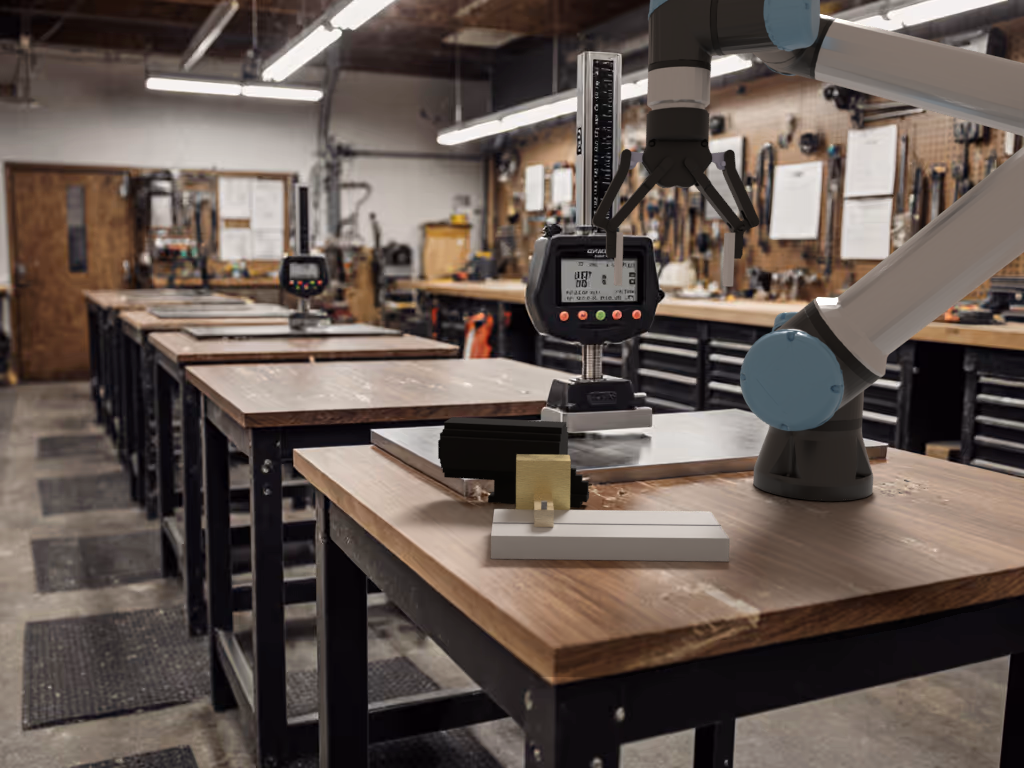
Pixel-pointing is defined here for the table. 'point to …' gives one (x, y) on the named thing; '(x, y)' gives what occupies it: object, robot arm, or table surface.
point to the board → (610, 536)
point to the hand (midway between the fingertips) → (672, 286)
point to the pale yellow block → (543, 485)
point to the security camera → (503, 452)
